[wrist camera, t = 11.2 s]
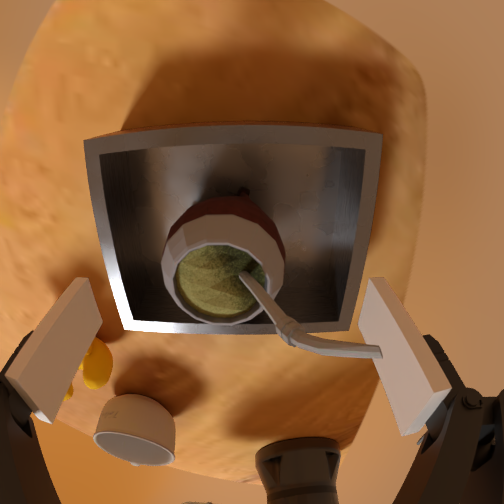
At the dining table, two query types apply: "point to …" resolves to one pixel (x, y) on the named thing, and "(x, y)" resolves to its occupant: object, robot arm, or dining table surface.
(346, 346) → the mate gourd
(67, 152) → the dining table surface
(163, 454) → the teacup
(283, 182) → the tray
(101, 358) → the duckling
